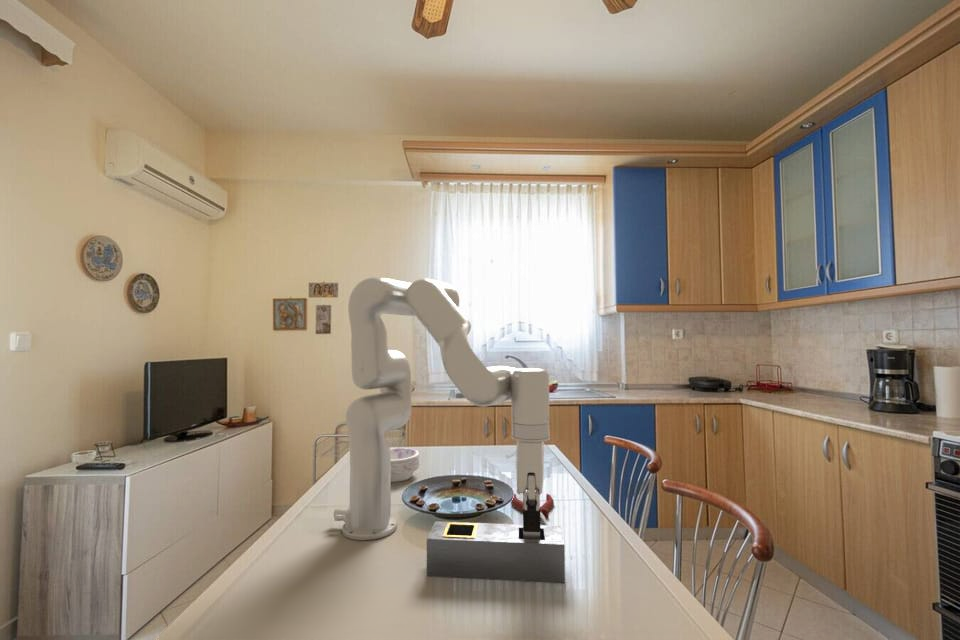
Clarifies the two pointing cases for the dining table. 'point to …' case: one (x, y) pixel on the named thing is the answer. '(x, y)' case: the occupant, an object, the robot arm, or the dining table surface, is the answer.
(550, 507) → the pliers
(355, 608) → the dining table surface
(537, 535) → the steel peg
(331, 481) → the dining table surface
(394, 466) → the white textured bowl
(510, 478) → the dining table surface
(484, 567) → the grey peg board
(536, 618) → the dining table surface
